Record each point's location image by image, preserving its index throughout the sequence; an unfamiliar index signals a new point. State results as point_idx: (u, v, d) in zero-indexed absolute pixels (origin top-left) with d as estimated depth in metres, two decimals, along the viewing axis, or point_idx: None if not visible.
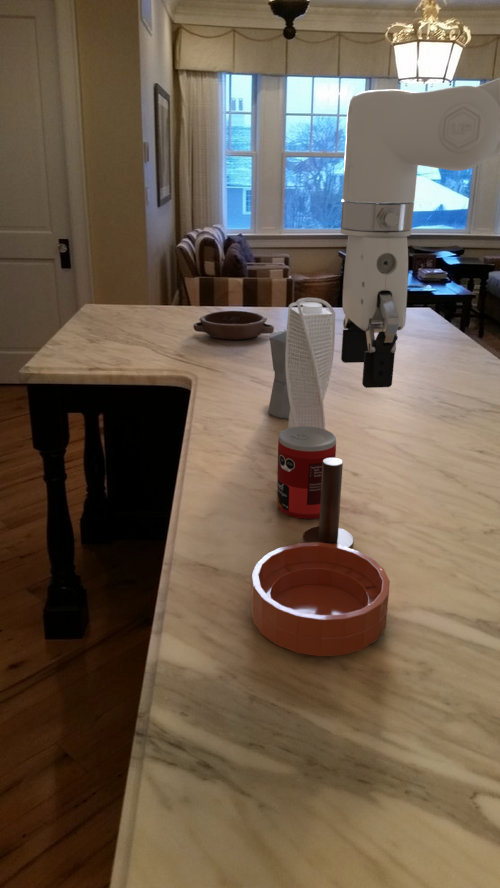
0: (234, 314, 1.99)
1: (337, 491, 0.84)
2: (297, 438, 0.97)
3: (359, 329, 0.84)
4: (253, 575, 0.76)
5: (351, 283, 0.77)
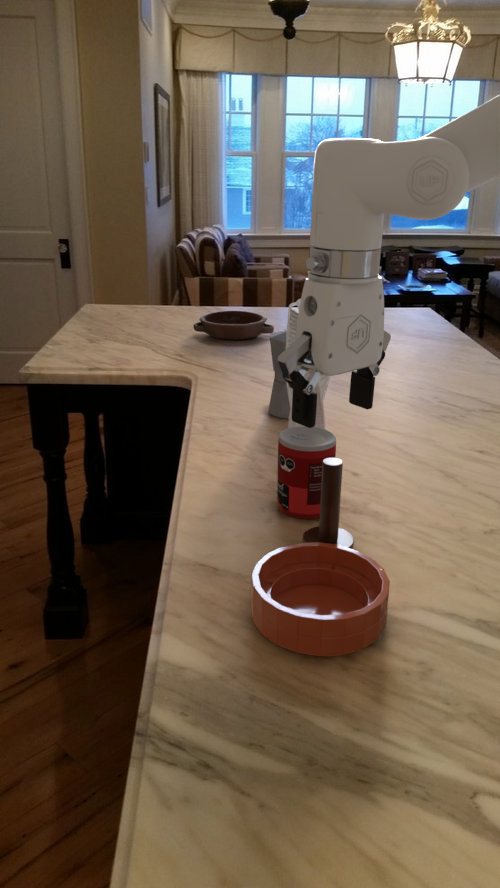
0: (234, 314, 1.99)
1: (337, 491, 0.84)
2: (297, 438, 0.97)
3: (363, 374, 0.83)
4: (253, 575, 0.76)
5: None
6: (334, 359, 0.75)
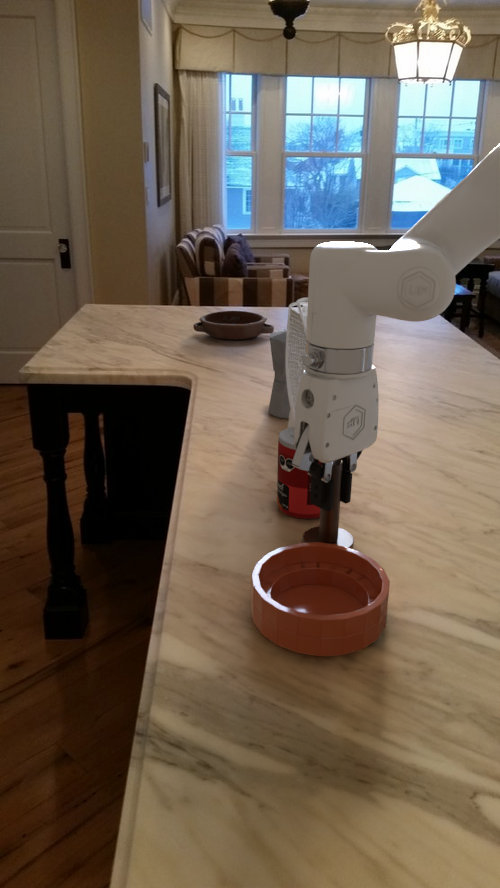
0: (234, 314, 1.99)
1: (337, 491, 0.84)
2: None
3: None
4: (253, 575, 0.76)
5: None
6: (331, 448, 0.78)
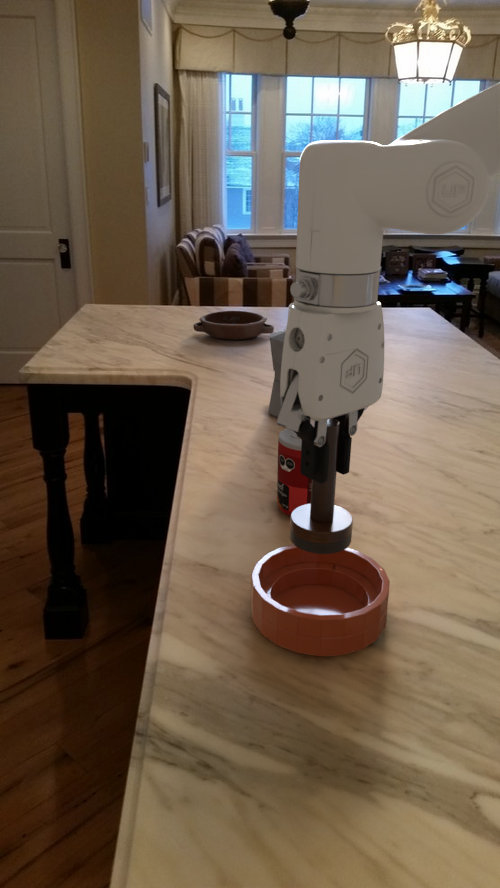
0: (234, 314, 1.99)
1: (333, 459, 0.69)
2: (297, 438, 0.97)
3: None
4: (253, 575, 0.76)
5: None
6: (325, 401, 0.63)
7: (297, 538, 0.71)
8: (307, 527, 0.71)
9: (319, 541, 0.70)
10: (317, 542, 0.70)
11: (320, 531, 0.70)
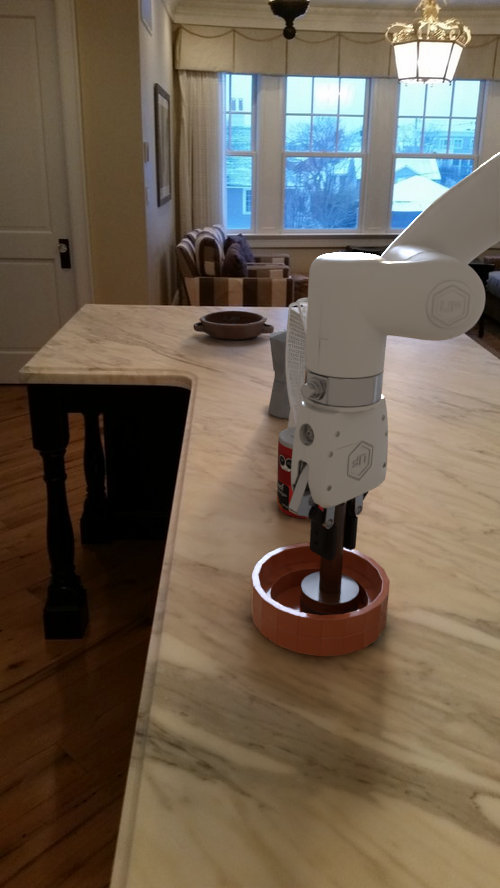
0: (234, 314, 1.99)
1: (341, 535, 0.73)
2: None
3: None
4: (253, 575, 0.76)
5: None
6: (334, 491, 0.68)
7: (307, 608, 0.76)
8: (317, 598, 0.75)
9: (328, 611, 0.75)
10: (326, 613, 0.75)
11: (329, 602, 0.74)
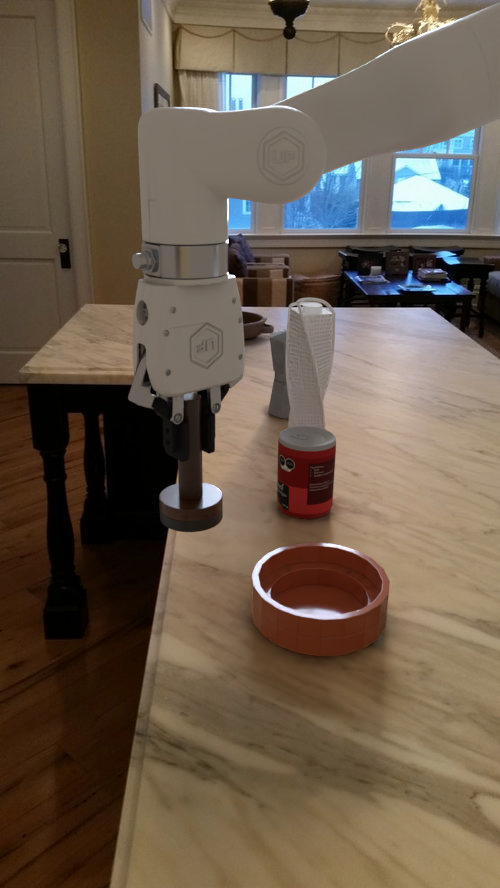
0: None
1: (195, 435, 0.68)
2: (297, 438, 0.97)
3: (202, 411, 0.68)
4: (253, 575, 0.76)
5: None
6: (174, 376, 0.62)
7: (164, 516, 0.70)
8: (172, 504, 0.69)
9: (184, 519, 0.69)
10: (182, 520, 0.69)
11: (185, 508, 0.68)
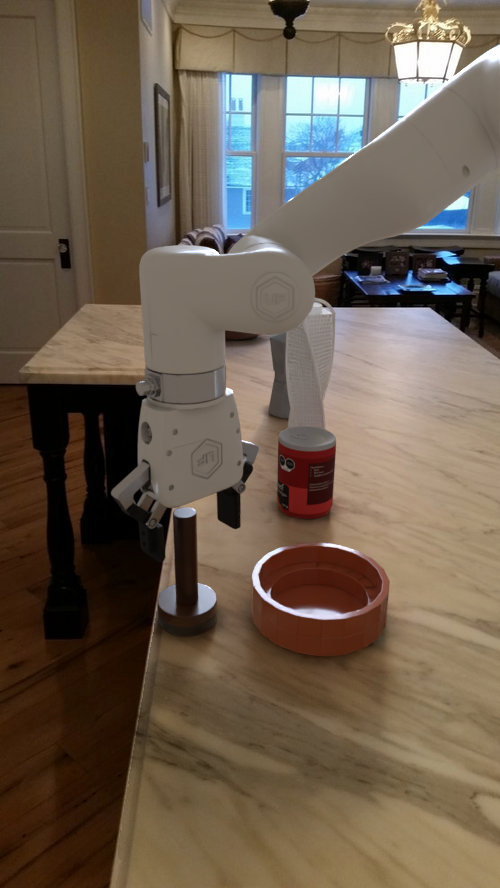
0: None
1: (191, 547, 0.72)
2: (297, 438, 0.97)
3: (228, 491, 0.74)
4: (253, 575, 0.76)
5: None
6: (177, 490, 0.66)
7: (162, 620, 0.75)
8: (170, 610, 0.74)
9: (180, 624, 0.73)
10: (179, 626, 0.73)
11: (181, 615, 0.73)
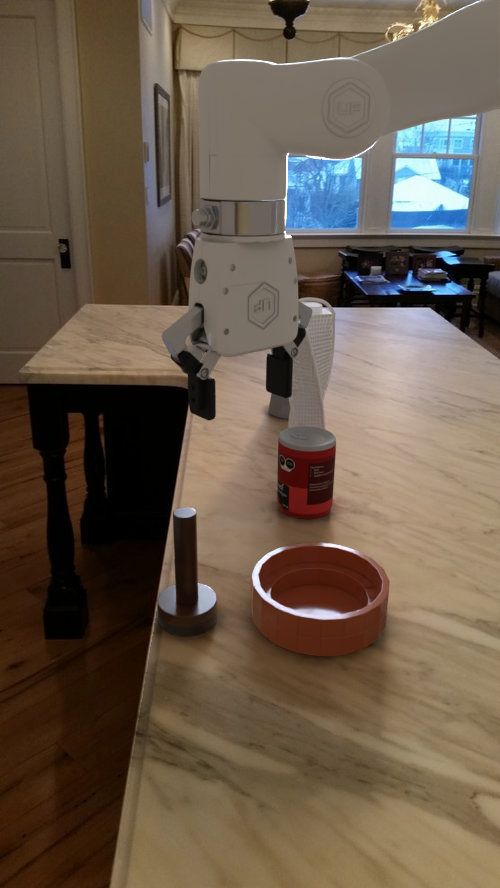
0: None
1: (191, 547, 0.72)
2: (297, 438, 0.97)
3: (280, 356, 0.69)
4: (253, 575, 0.76)
5: None
6: (232, 336, 0.61)
7: (162, 620, 0.75)
8: (170, 610, 0.74)
9: (180, 624, 0.73)
10: (179, 626, 0.73)
11: (181, 615, 0.73)
